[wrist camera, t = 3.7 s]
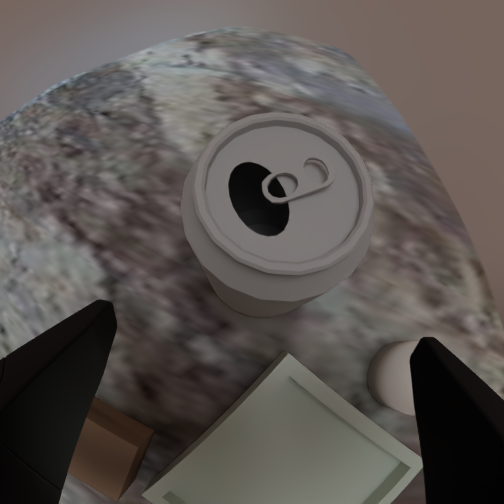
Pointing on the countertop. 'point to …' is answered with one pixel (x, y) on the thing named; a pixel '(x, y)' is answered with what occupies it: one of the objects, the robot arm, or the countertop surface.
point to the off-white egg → (393, 376)
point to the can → (277, 212)
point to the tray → (288, 450)
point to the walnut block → (109, 450)
